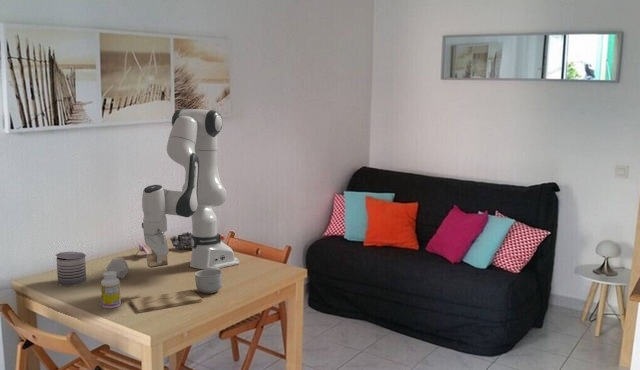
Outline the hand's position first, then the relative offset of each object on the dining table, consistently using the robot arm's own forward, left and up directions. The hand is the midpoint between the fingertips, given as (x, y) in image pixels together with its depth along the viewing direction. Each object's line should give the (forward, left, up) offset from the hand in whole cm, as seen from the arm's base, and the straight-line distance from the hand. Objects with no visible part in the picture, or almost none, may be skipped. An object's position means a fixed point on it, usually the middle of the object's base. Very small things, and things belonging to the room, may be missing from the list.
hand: (157, 261), depth 249 cm
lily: (-8, -53, -13) cm, 55 cm away
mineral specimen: (-31, -56, -13) cm, 65 cm away
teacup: (-19, +7, -13) cm, 25 cm away
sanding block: (0, 0, -2) cm, 2 cm away
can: (+28, -30, -13) cm, 43 cm away
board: (+1, +12, -13) cm, 18 cm away
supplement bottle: (+20, +6, -13) cm, 24 cm away
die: (+10, -27, -13) cm, 31 cm away
